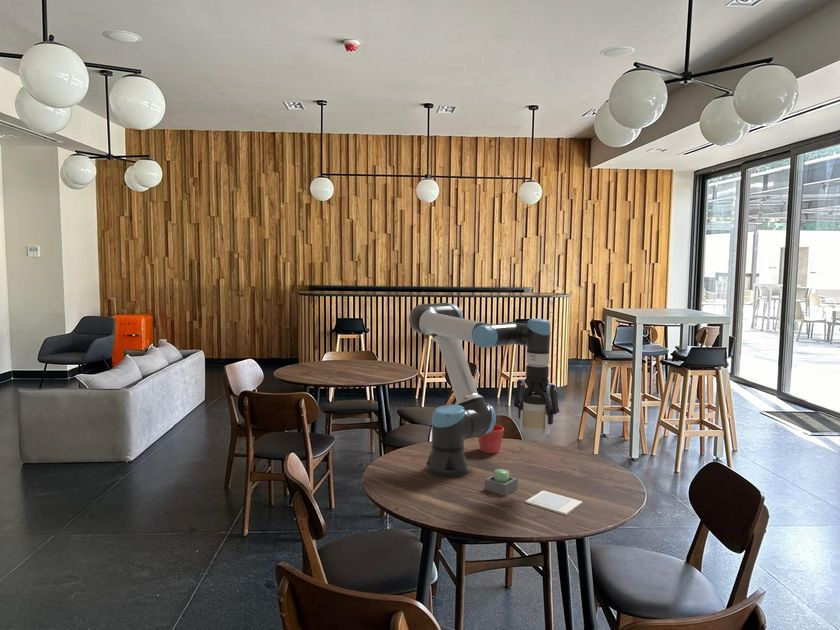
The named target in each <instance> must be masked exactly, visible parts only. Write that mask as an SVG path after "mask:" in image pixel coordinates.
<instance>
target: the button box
mask: <svg viewBox="0 0 840 630" xmlns="http://www.w3.org/2000/svg"><path fill="white" fill-rule="evenodd" d="M518 481H519V479H518V478H517V477H513V476H510V475H509V481H508V482H506V483H501V482H498V481H494V474H492V475H490V476H488V477H486V478H484V490H486V491H488V492H489V491H490V492H493V493H496V494H499V495H503V496H507V495H508V494H511V493H512V492H513V491H516V490H518Z"/></svg>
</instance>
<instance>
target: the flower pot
mask: <svg viewBox="0 0 840 630" xmlns="http://www.w3.org/2000/svg"><path fill="white" fill-rule="evenodd" d="M504 432H505V428H504V427H503V426H502V425H499V424H495V425H494V428H493V430H492V431H491V432H489V433H488V434H485V435H482V436H477V437H478V439H477V440H478V445H479V450H480V452H483V453H486V454H496V453H499V452H500V449H501V445H502V441H503V437H504Z"/></svg>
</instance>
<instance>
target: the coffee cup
mask: <svg viewBox="0 0 840 630" xmlns="http://www.w3.org/2000/svg"><path fill="white" fill-rule="evenodd" d="M522 398H523V421H524V431H523V432H524V433H523V434H524V436H523V437H524V438H525V439H526V440H528V441H529V440H530V441H544V440H545V439H546V435H547V434H545V415H546V414H548V413H547V411H546V408H545V406H546V401H544V399H543V397H541V396H540V394H539V393H536V392H532V394H531V395H529V396H528V395H526V396H525V397H524V396H522Z"/></svg>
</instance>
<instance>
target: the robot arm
mask: <svg viewBox="0 0 840 630" xmlns="http://www.w3.org/2000/svg"><path fill="white" fill-rule="evenodd" d="M408 323H409V326H410V328H411V329H412V331H414V332H415V333H418V334H423V335H426V336H428V335H431V337H432V340H433V341H434V342H435V343H437V344H438V346H439V350H440V352H441V356H442V359H443V362H444V365H445V369H446V372H447V374H448V378H449V381H450V384H451V387H452V391H453V394H454V397H455V399H456V401H455V402H454V403H455V404H444V405H441V406H438V407H436V408H434V410H433V412H432V419H431V450H430V453H429V456H428V458H427V461H426V466H425V468H426V469H425V470H426V472H427V473H428V474H430V475H431V476H435V477H438V478H439V477H440V478H459V477H462V476H465V475H466V474H467V473H468V472H469V471H468V468H469V466H468V463H467V458H466V455H465V452H464V445H465V442H464V441H465V440H467V439H471V438H472V439H473V438H476V437H478V436H482V435H485V434H488V433H489V432H491V431H492V430H493V428H494V425H496V421H497V415H496V411H495V409H494V407H493V405H491V404H490V403H487V402H485V399H484V396H483V395H481V394H479V392H478V390H477V387H476V384H475V380H474V378H473V375H472V372H471V369H470V365H469V362H468V359H467V357H466V354H465V351H464V348H463V345H462V342H463V341H464V342H468V343H473V345H474V344H475V346H476V347H478V348H486V349H489V348H494V347H504V346H511V345H512V346H513V345H517V346H518V345H519V346H525V347H526V364H527V365H526V366H525V378H519V379H517V380H516V381H517V382H516V383H517V388H516V391H515V396H514V397H515V398H514V401H513V407H514V408H517V409H518V416H517V417H518V420H519V419H520V421H519V422H520V423H519V429H520V430H523V429H524V421H523V397H525V396H526V395H528V396H529V395H531V394H532V393H533V392H536V393H539V394H540V396H541V397H543V399H544V401H546V406H545V408H546V411H547V413H548V414H546V415H545V434H546V435H548V434H550V433H551V425H553V424H554V415H556V414H559V413H560V409H559V408H560V407H559V402H558V401H559V399H558V394H557V387H558V384H557V383H551V382H550V381H549V373H550V372H549V369H550V368H549V366H548V365H550V344H551V342H550V341H551V333H552V332H551V322H550V321H549V320H548V319H544V318H530V319H529V320H527V323H521V322H515V321H504V322H502V323H493V324H492V323H486V322H482V321H476V320H472V319H466V318H464V316H463V312H462V311H461V310H460V308H459V307H458V306H457V305H456V304H454V303H450V302H438V303H421V304H418V305H416V306H415V307H413V308H412V309H411V311H410V313H409V317H408ZM525 385H526V386H527V387H526V389H525V392H524V388H525ZM547 389H548V390H549V394H550V395H549V394H548V390H547ZM523 393H524V395H523ZM549 396H550V397H549Z"/></svg>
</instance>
